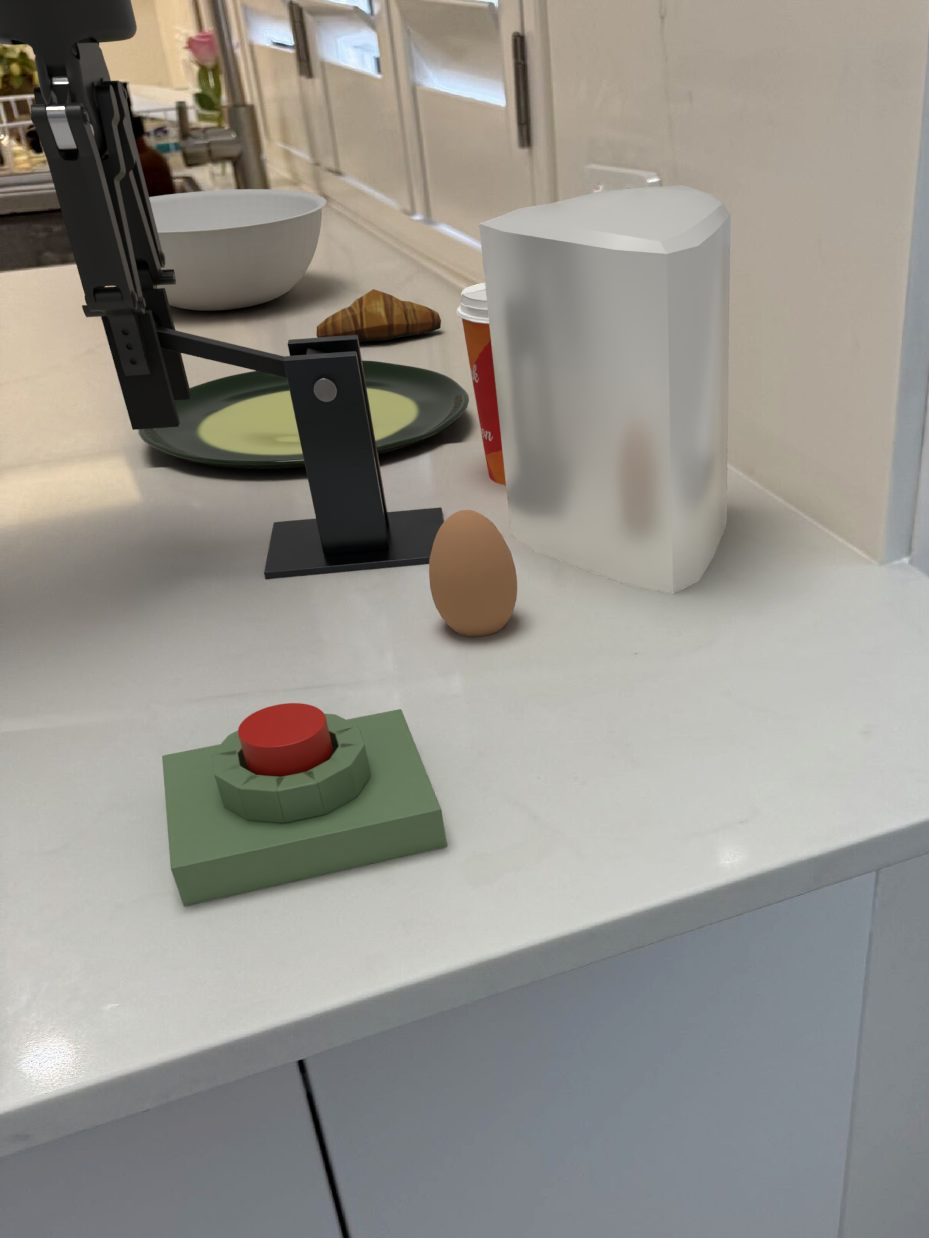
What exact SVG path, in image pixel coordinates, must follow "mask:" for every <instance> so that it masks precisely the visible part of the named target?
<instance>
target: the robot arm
mask: <svg viewBox="0 0 929 1238" xmlns="http://www.w3.org/2000/svg"><path fill="white" fill-rule="evenodd" d="M133 8H134V7H133V3H132V0H0V45H7V46H25V45H26V46H27V45H28V46H29V47H30V48H31V49H32V53H33V55H34V63H35V68H36V73H37V74H36V75H37V78H38V79H37V80H38V85H39V86H35V87H34V86H33V96H34V102H35V103H34V104H33V103H31V104H30V115H29V116H30V120H31V122H32V124H33V126H34V128H35V131H36V133H37V137H38V139H39V142H40V145H41V147H42V150H43V153H44V155H45V158H46V162H47V165H48V169H49V172H50V175H51V176H50V177H51V180H52V184H53V187H54V190H55V193H56V197H57V200H58V204H59V208H60V211H61V215H62V218H63V223H64V226H65V230H66V233H67V237H68V241H69V243H70V248H71V250H72V255H73V257H74V261H75V265H76V268H77V273H78V275H79V279H80V283H81V287H82V290H83V293H84V301H85V304H82V305H81V308H82V312H83V315H84V316H85V317H86V318H98V317H99V318H101V322H102V327H103V329H104V332H105V336H106V340H107V343H108V348H109V351H110V354H111V357H112V361H113V364H114V368H115V372H116V375H117V380H118V382H119V383H118V384H119V386H120V391H121V393H122V397H123V402H124V404H125V407H126V411H127V416H128V418H129V422H130V426H131V429H132V431H134V430H135V431H138V429H152V428H167V427H178V426H179V424H180V422H179V418H178V414H177V410H176V406H175V402H174V400H186V399H190V398H191V392H190V388H191V387H190V384H189V380H188V376H187V372H186V368H185V363H184V360H183V356H182V353H179V352H174V351H170V350H166V349H162V348H161V347H160V343H159V339H158V335H157V331H156V327H155V323H154V319H153V315H152V312H154V313H155V314H156V315H157V316H158V318H159V319H160V322H161V327H164V328H168V329H172V330H176V327H175V323H174V319H173V315H172V311H171V307H170V306H171V305H169V302H168V298H167V294H166V290H165V288H157V285H175V284H176V277H175V272H174V269H167V270H161V268H164V267H165V255H164V253H163V252H162V248H161V244H160V240H159V236H158V232H157V228H156V224H155V220H154V215H153V211H152V207H151V203H150V199H149V197H150V195H149V191H148V187H147V183H146V179H145V175H144V171H143V167H142V163H141V159H140V154H139V151H138V146H137V142H136V137H135V134H134V131H133V125H132V120H131V114H130V109H129V104H128V92H127V89H126V88H125V86H124V84H123V82H122V81H120V80H112V79H111V76H110V71H109V69H108V65H107V63H106V60H105V56H104V53H103V51H102V49H101V47H100V43H113V42H120V41H121V42H123V41H127V40H131V39H132V38H133V37H135V35H136V33H137V29H138V27H137V26H138V25H137V21H136V17H135V13H134V9H133ZM151 311H152V312H151Z"/></svg>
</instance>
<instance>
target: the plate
mask: <svg viewBox="0 0 929 1238" xmlns="http://www.w3.org/2000/svg"><path fill="white" fill-rule="evenodd" d="M362 364H363V370H364V376H365V382H366V388H367V394H368V399H369V405H370V411H371V417H372V423H373V429H374V435H375V441H376V447H377V453H378V456H379V455H382V454H385V453H389V452H393V451H396V450H399V449H402V448H406V447H408V446H412V445H414V444H417V443H418V442H421V441H423V440H426V439H428V438H430V437H432V436H434V435H436V434H438V433H440V432H441V431H443V430H445V428H447V427H449V426H450V425H451V424H452V423H454V422H455V421H456V420H457V419H459V418H460V417H461V416H462V415H463V414H464V412H466V410H467V408H468V406H469V403H470V396H469V394H468V392H467V391H466V390H465V388H463V386H462V385H460V384H459V383H458V382H457V381H456V380H454V379H452V377H449V376H447V375H445V374H443V373H440V372H437V371H435V370H430V369H427V368H421V367H417V366H416V367H415V366H411V365H405V364H398V363H391V362H386V361H385V362H384V361H377V360H363V359H362ZM189 388H190V392H191V398H190V399H186V400H174V402H175V406H176V410H177V414H178V418H179V422H180V424H179V426H178V427H167V428H152V429H137V433H138V436H139V437H140V439H141V440H142V441H143V442H144V443H145V444H147V445H148V446H150V447H152V448H154V449H156V450H158V451H160V452H163V453H165V454H168V455H170V456H173V457H177V458H180V459H183V460H187V461H191V462H194V463H198V464H202V465H208V466H213V467H214V466H215V467H220V468H221V467H222V468H231V469H251V470H253V469H254V470H267V469H268V470H274V469H275V470H276V469H296V468H305V463H304V458H303V453H302V448H301V443H300V439H299V434H298V429H297V424H296V419H295V414H294V410H293V405H292V400H291V395H290V390H289V385H288V381H287V378H285V377H281V376H277V375H272V374H268V373H264V372H260V371H255V370H251V371H247V372H242V373H237V374H232V375H228V376H223V377H220V378H217V379H213V380H210V381H206V382H202V383H200V384H196V385H194V386H192V387H189Z"/></svg>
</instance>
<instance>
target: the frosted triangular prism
mask: <svg viewBox="0 0 929 1238" xmlns="http://www.w3.org/2000/svg"><path fill="white" fill-rule="evenodd" d="M478 227H479V238H480V245H481V246H480V247H481V256H482V266H483V276H484V283H485V286H486V296H487V306H488V316H489V325H490V335H491V345H492V354H493V364H494V374H495V383H496V393H497V403H498V412H499V422H500V432H501V442H502V451H503V461H504V471H505V480H506V485H505V489H506V499H507V508H508V509H507V510H508V517H509V518H508V519H509V527H510V536H511V537H512V538H513V539H515V540H516V541H518V542H519V543H520V544H522V545H523V546H525V547H527V548H528V549H529V550H530V551H532V552H535V553H538V554H541V555H543V556H546V557H548V558H551V559H554V560H557V561H560V562H562V563H564V564H567V565H570V566H573V567H576V568H579V569H581V570H584V571H587V572H590V573H592V574H595V575H598V576H601V577H603V578H606V579H608V580H612V581H614V582H618V583H620V584H622V585H626V586H628V587H632V588H638V589H643V590H648V591H652V592H653V591H654V592H657V593H658V592H660V593H665V594H670V595H675V594H677V593H678V592H680V591H683V590H684V589H686V588H688V587H690V586H692V585H695V584H696V583H698V582H700V581H701V579H702V577H703V575H704V574H705V572H706V571H707V569H708V567H709V565H710V563H711V562H712V560H713V558H714V557H715V554H716V552H717V550H718V547H719V545H720V542H721V541H722V540H721V539H722V538H723V535H724V533H725V531H726V528H727V526H728V459H729V458H728V454H729V453H728V452H729V451H728V449H729V448H728V447H729V436H728V435H729V376H730V375H729V374H730V373H729V370H730V369H729V368H730V367H729V364H730V362H729V361H730V291H731V290H730V285H731V284H730V283H731V282H730V281H731V279H730V277H731V266H730V265H731V213H730V211H729V210H728V209H727V207H726V205H725V204H724V203H723V202H722V201H721V200H719V199H718V198H716V197H715V196H714V195H713V194H711V193H709V192H706V191H703V190H700V189H697V188H694V187H691V186H688V185H684V184H679V185H664V186H663V185H662V186H661V185H660V186H647V187H645V186H644V187H635V188H634V187H633V188H625V189H624V188H621V189H609V190H600V191H595V192H591V193H588V194H587V193H586V194H583V195H579V196H575V197H571V198H567V199H563V200H559V201H555V202H550V203H544V204H543V203H542V204H538V205H532V206H531V205H530V206H525V207H519V208H516V209H513V210H512V211H509V212H506V213H504V214H501V215H499V216H496V217H494V218H490V219H488V220H485V221H482V222H479V224H478Z"/></svg>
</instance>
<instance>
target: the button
mask: <svg viewBox="0 0 929 1238" xmlns="http://www.w3.org/2000/svg"><path fill="white" fill-rule="evenodd" d="M325 714H326V713H325V712H324V711H322V710H321V709H320V708H319V707H317V706H314V705H311V704H309V703H301V702H288V703H287V702H286V703H280V704H273V705H270V706H266V707H263V708H261V709H258V710H256V711H254V712H252V713H251V714H249V715H248V716H247V717H245V718H243V720H242V722H241V723H240V724H239V725H238V728H237V731H238V736H239V740H240V743H241V747H242V750H243V754H244V757H245V761H246V764H247V767H248V769H249V770H250V771H251V772H252V773H254V774H255V775H264V776H276V777H283V776H288V775H293V774H298V773H302V772H307V771H309V770H311V769H312V768H314V767H316V766H318V765H320V764H322V763H324V762H326V761H328V760H329V759H330V758H331V756H332V753H333V747H332V742H331V738H330V733H329V729H328V724H327V720H326V716H325Z"/></svg>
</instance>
